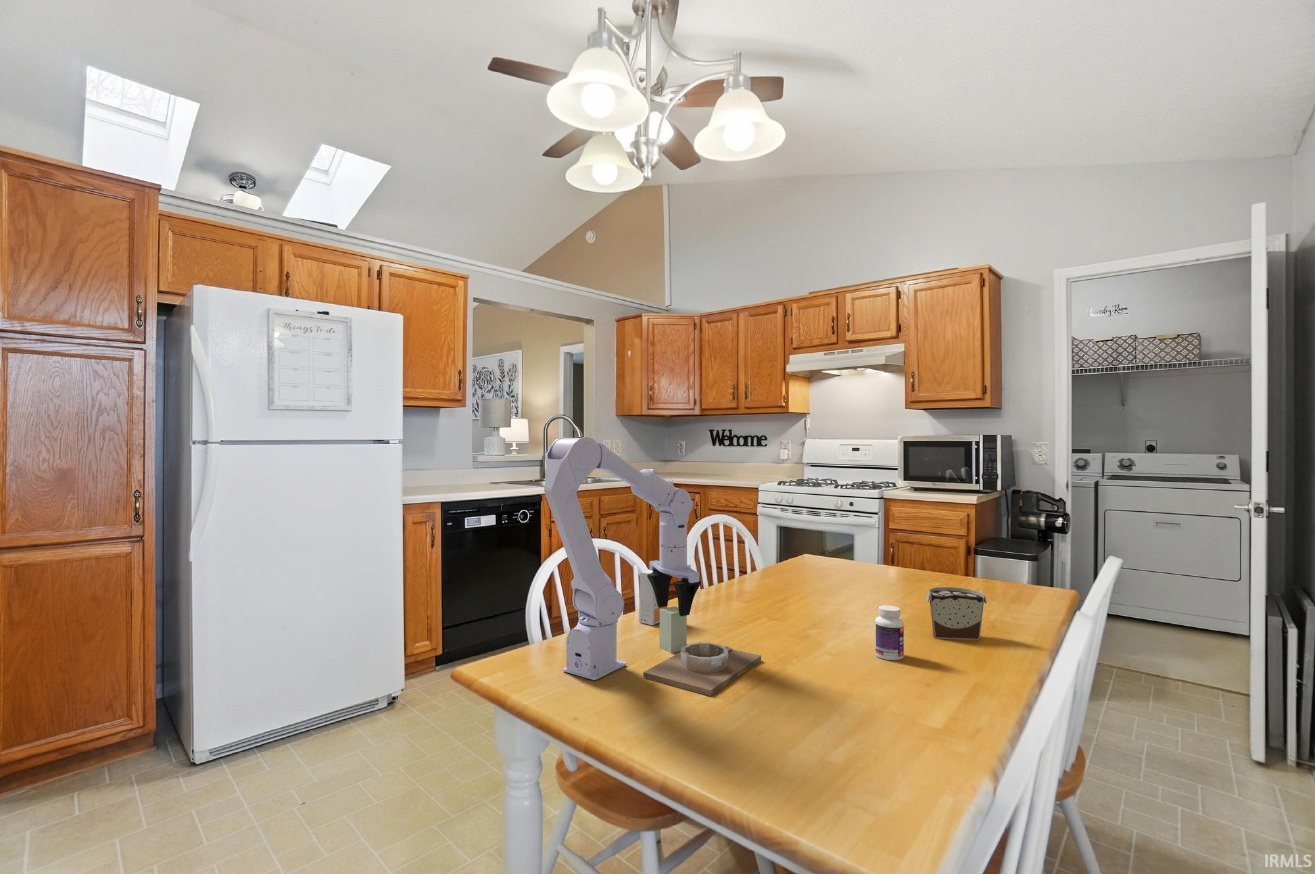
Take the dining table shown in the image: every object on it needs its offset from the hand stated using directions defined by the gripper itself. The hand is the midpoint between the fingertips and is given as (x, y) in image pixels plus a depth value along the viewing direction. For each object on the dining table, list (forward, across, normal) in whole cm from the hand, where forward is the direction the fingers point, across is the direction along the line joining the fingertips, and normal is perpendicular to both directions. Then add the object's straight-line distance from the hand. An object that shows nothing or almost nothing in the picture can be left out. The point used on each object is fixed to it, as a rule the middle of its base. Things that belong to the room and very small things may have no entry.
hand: (673, 610), depth 126 cm
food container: (+8, -28, -56) cm, 63 cm away
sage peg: (+8, 0, 0) cm, 8 cm away
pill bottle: (+8, -28, -33) cm, 44 cm away
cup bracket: (+8, -12, +2) cm, 15 cm away
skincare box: (+8, +18, -7) cm, 21 cm away
